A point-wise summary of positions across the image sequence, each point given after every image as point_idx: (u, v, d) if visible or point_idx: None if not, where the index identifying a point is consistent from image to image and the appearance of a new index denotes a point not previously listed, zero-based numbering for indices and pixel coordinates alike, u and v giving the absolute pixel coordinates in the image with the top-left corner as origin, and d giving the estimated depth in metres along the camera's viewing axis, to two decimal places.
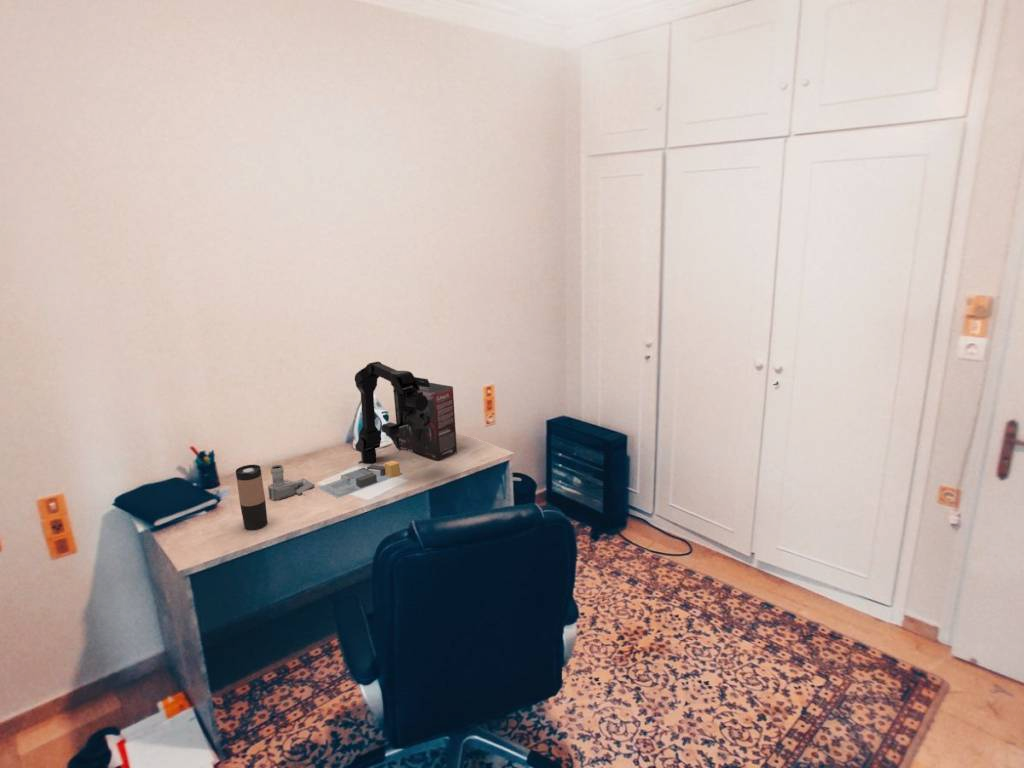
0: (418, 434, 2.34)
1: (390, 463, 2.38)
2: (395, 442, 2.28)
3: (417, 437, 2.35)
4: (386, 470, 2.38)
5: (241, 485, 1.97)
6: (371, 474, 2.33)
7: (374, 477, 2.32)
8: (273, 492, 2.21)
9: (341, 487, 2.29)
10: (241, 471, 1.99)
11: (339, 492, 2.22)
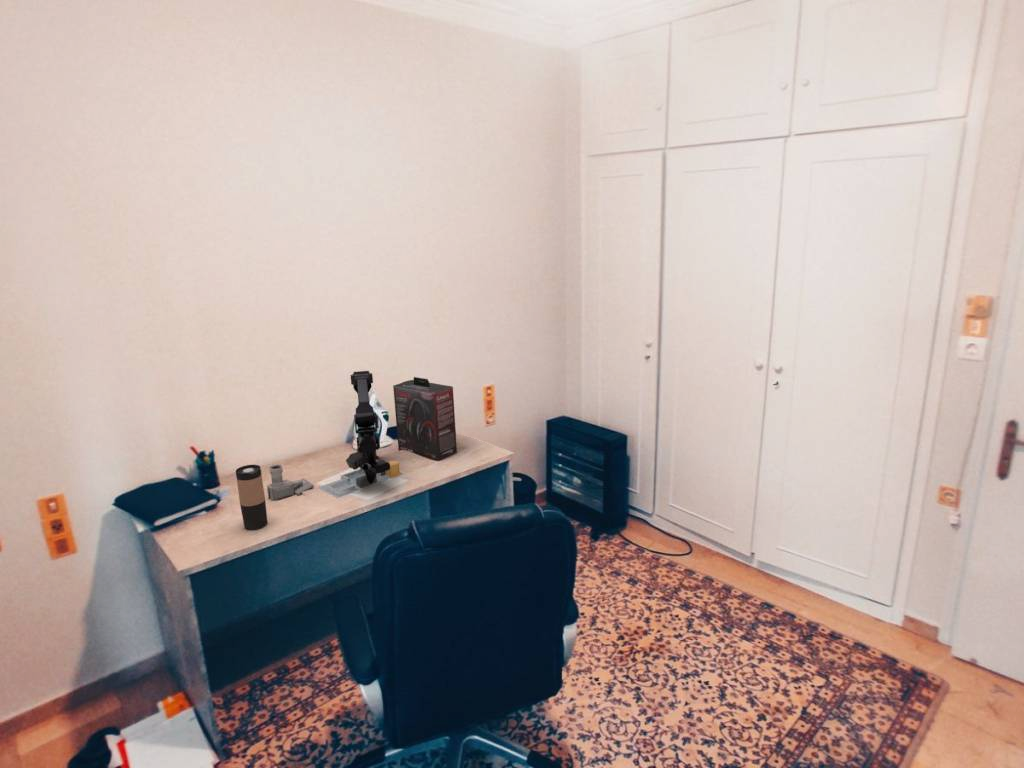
0: None
1: (390, 463, 2.38)
2: None
3: None
4: None
5: (241, 485, 1.97)
6: None
7: None
8: (272, 492, 2.21)
9: (341, 487, 2.29)
10: (241, 471, 1.99)
11: (339, 492, 2.22)
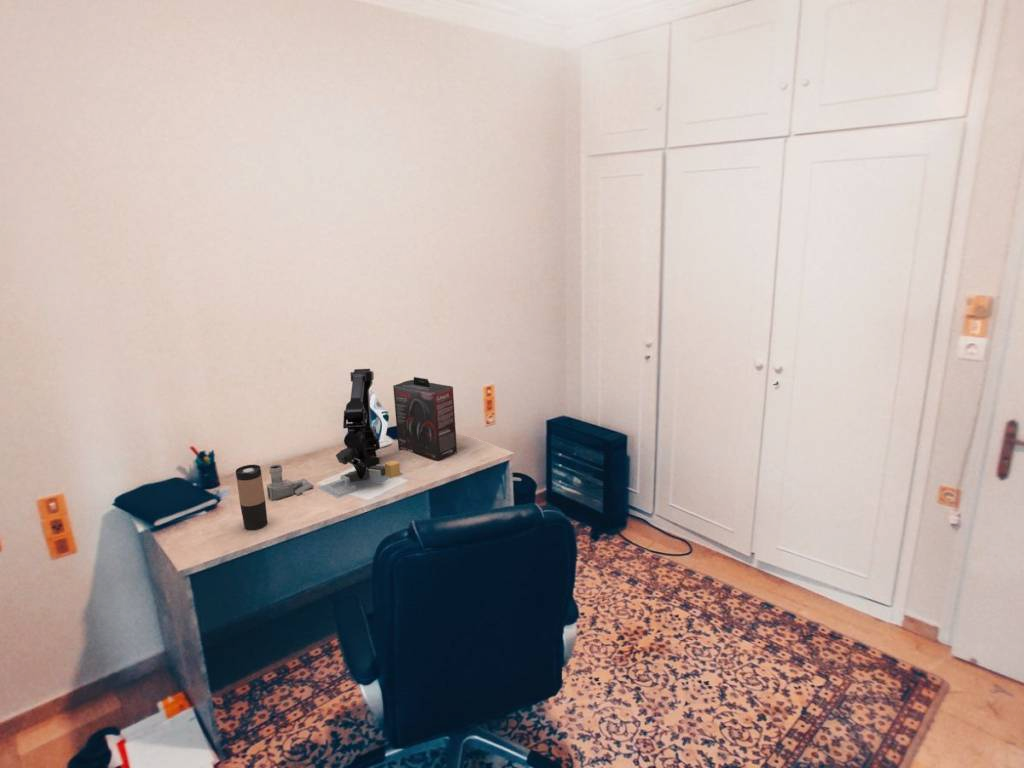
0: None
1: (390, 463, 2.38)
2: None
3: None
4: (386, 470, 2.38)
5: (241, 485, 1.97)
6: None
7: (366, 474, 2.35)
8: (271, 492, 2.21)
9: (341, 487, 2.29)
10: (241, 471, 1.99)
11: (339, 492, 2.22)
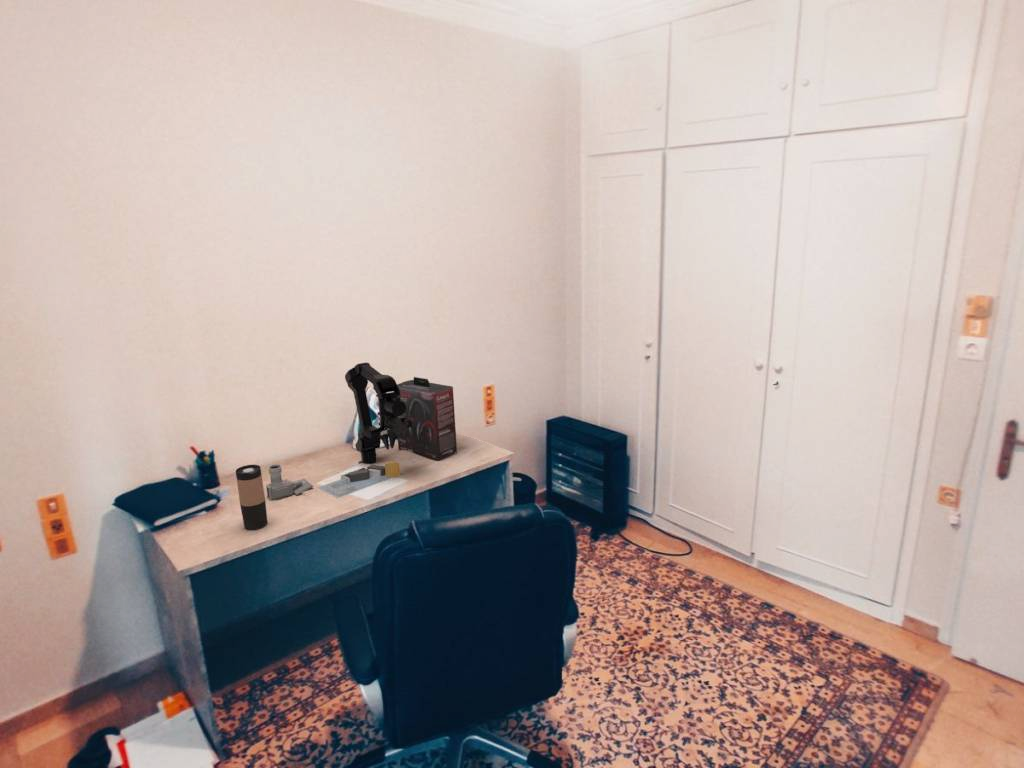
0: (392, 440, 2.36)
1: (390, 463, 2.38)
2: (385, 443, 2.34)
3: (391, 443, 2.37)
4: (386, 470, 2.38)
5: (241, 485, 1.97)
6: (364, 470, 2.37)
7: (366, 474, 2.35)
8: (270, 492, 2.22)
9: (341, 487, 2.29)
10: (241, 471, 1.99)
11: (339, 492, 2.22)
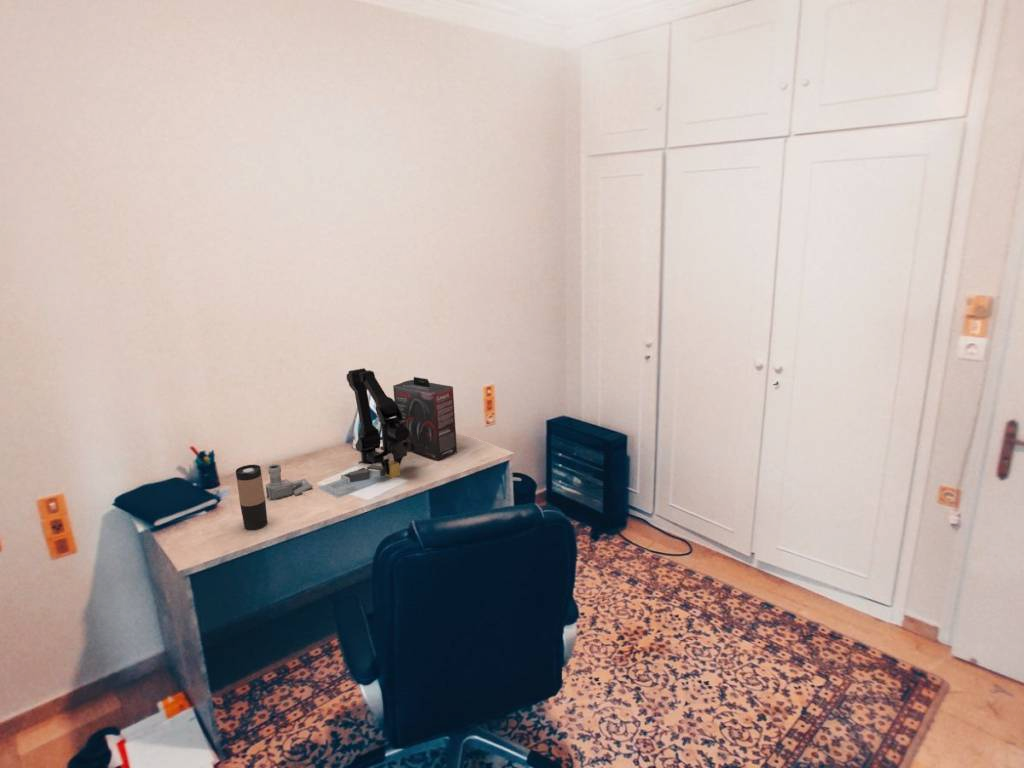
0: None
1: (390, 463, 2.38)
2: (385, 468, 2.36)
3: None
4: None
5: (241, 485, 1.97)
6: (364, 470, 2.37)
7: (366, 474, 2.35)
8: (269, 491, 2.22)
9: (341, 487, 2.29)
10: (241, 471, 1.99)
11: (339, 492, 2.22)
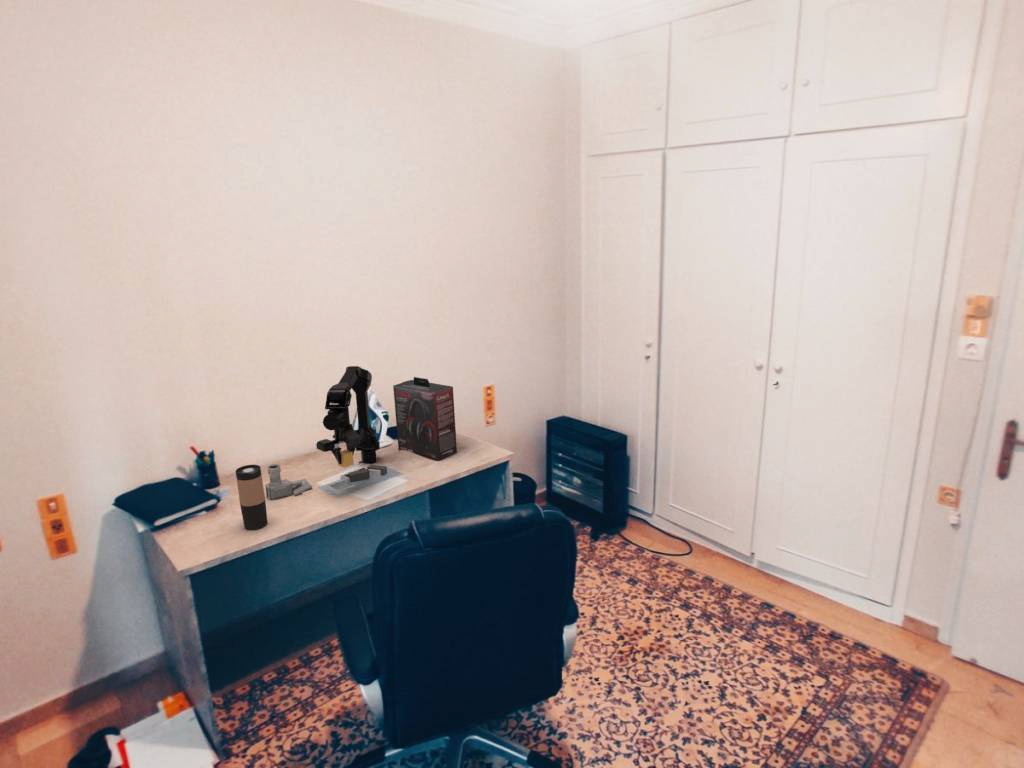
0: None
1: (343, 452, 2.24)
2: (337, 457, 2.23)
3: None
4: None
5: (241, 485, 1.97)
6: (364, 470, 2.37)
7: (366, 474, 2.35)
8: (269, 491, 2.22)
9: (341, 487, 2.29)
10: (241, 471, 1.99)
11: (339, 492, 2.22)
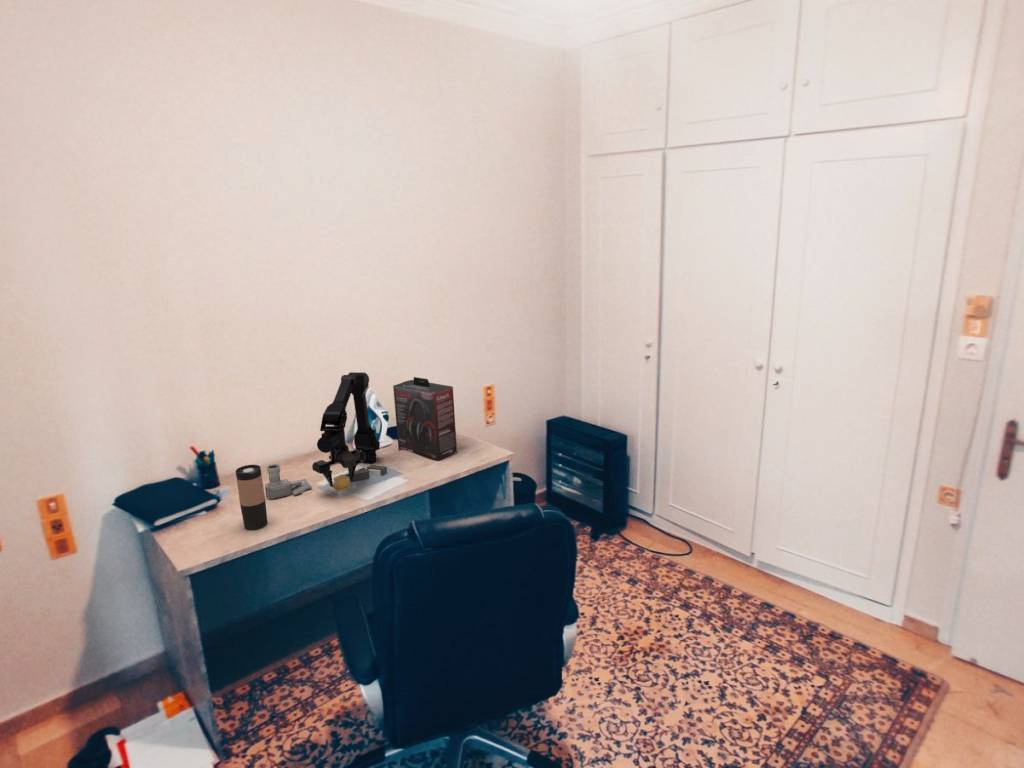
0: (351, 471, 2.28)
1: (340, 477, 2.26)
2: (328, 480, 2.22)
3: (350, 474, 2.29)
4: (335, 485, 2.26)
5: (241, 485, 1.97)
6: (364, 470, 2.37)
7: (366, 474, 2.35)
8: (268, 491, 2.22)
9: None
10: (241, 471, 1.99)
11: (339, 492, 2.22)
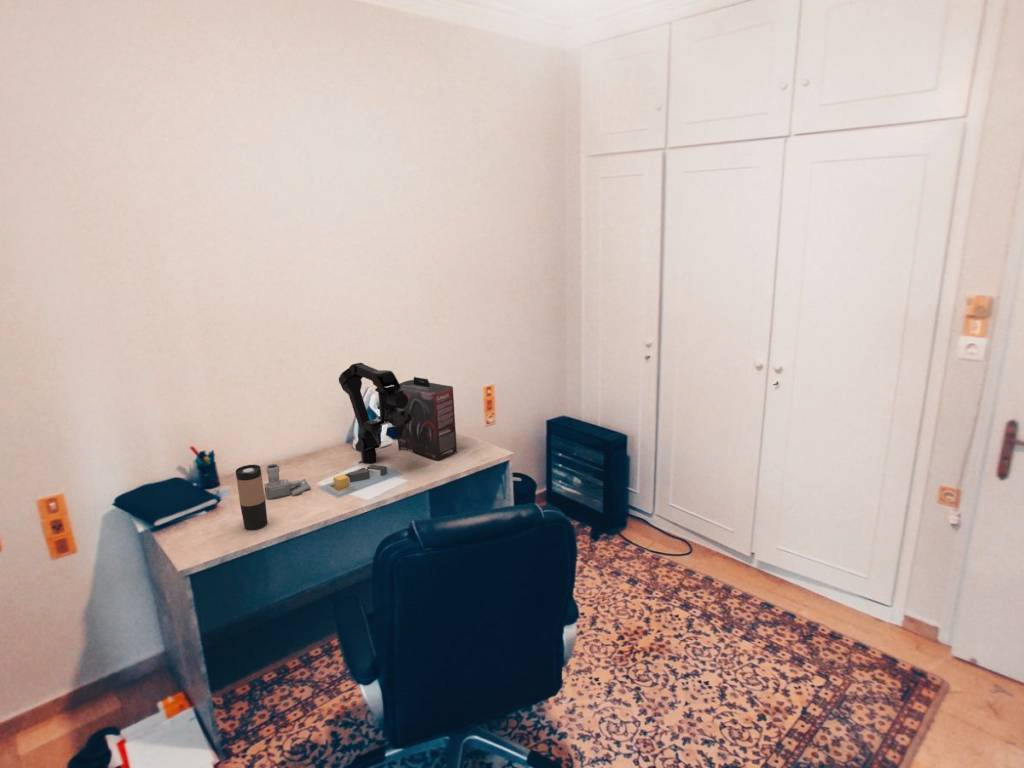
0: (399, 431, 2.43)
1: (340, 477, 2.26)
2: (377, 439, 2.36)
3: (398, 434, 2.44)
4: (335, 485, 2.26)
5: (241, 485, 1.97)
6: (364, 470, 2.37)
7: (366, 474, 2.35)
8: (267, 491, 2.22)
9: None
10: (241, 471, 1.99)
11: (339, 492, 2.22)
